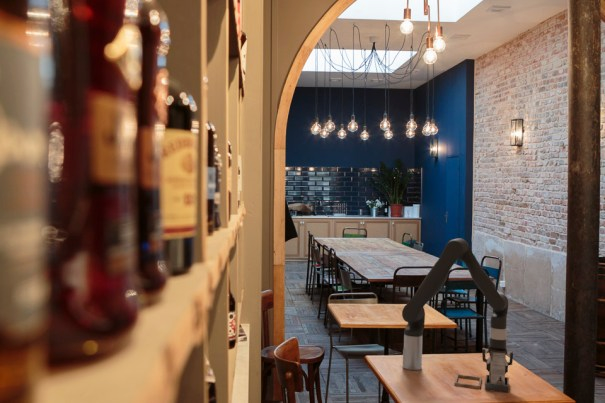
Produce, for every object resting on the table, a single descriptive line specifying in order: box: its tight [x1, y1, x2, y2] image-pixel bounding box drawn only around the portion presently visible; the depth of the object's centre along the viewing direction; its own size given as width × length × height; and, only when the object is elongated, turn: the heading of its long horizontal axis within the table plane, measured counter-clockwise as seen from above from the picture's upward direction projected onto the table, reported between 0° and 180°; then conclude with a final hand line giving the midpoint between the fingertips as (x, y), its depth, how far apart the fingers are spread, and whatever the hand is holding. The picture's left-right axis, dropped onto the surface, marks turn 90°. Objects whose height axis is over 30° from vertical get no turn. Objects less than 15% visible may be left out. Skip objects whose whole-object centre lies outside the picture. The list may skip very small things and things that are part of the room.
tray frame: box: [454, 373, 483, 390], centre depth 267 cm, size 12×14×1 cm
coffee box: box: [488, 349, 507, 386], centre depth 262 cm, size 9×6×16 cm
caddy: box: [484, 374, 510, 394], centre depth 262 cm, size 10×13×3 cm
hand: (497, 372), depth 262 cm, fingers closed on coffee box, 7 cm apart
